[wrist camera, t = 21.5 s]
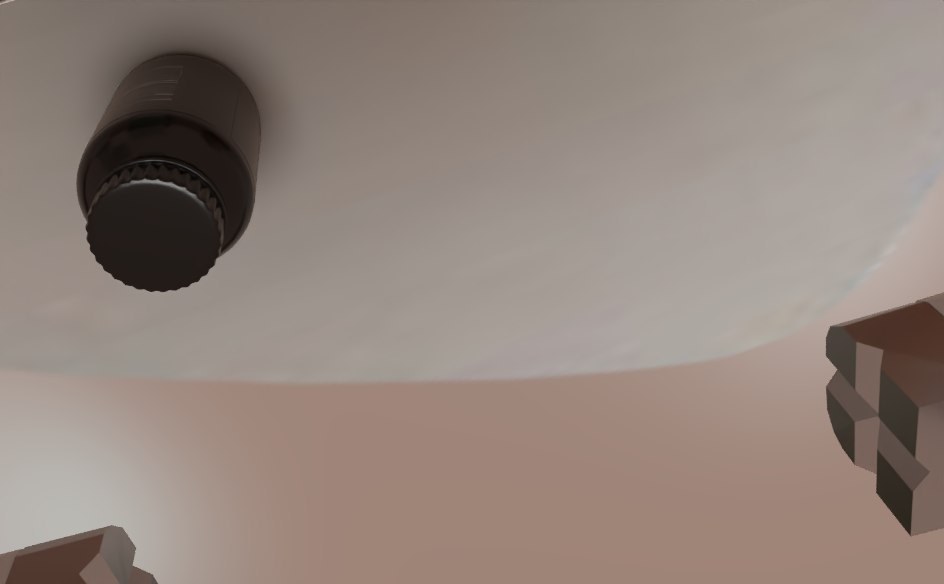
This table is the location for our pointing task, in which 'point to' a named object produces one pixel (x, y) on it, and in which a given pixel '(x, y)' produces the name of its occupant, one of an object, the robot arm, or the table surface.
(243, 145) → the supplement bottle
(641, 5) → the table surface
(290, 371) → the table surface
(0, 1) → the syrup box
